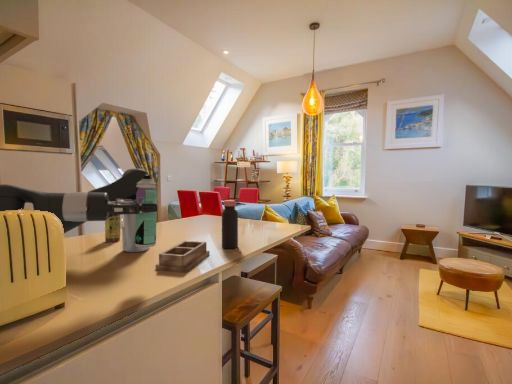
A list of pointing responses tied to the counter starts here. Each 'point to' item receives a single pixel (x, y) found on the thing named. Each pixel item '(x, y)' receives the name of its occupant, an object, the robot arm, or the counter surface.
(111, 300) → the counter surface
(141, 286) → the counter surface
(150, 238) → the spray can
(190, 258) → the rack
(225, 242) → the vinegar
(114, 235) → the sauce bottle
